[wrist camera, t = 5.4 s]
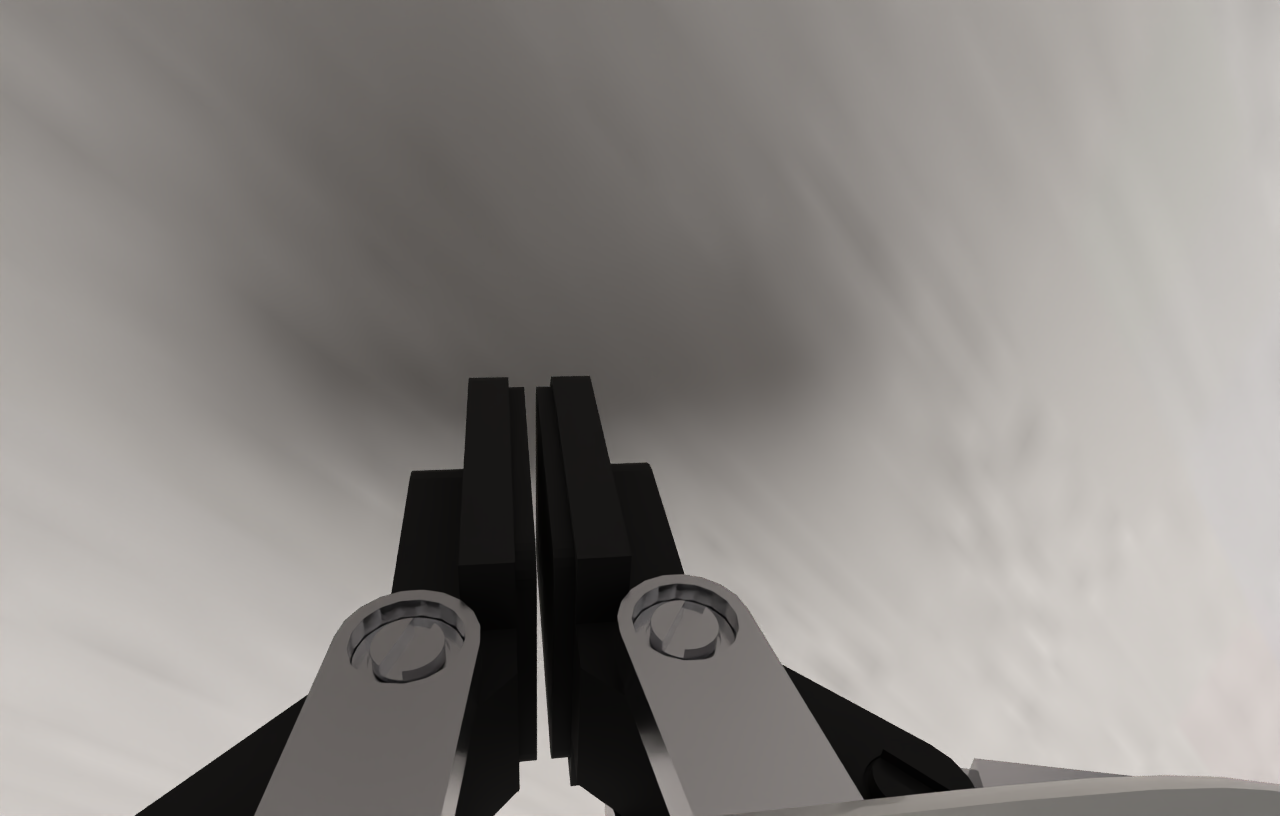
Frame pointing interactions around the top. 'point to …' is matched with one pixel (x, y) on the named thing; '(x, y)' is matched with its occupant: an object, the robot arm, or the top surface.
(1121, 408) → the top surface
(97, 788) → the top surface
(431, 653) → the robot arm
